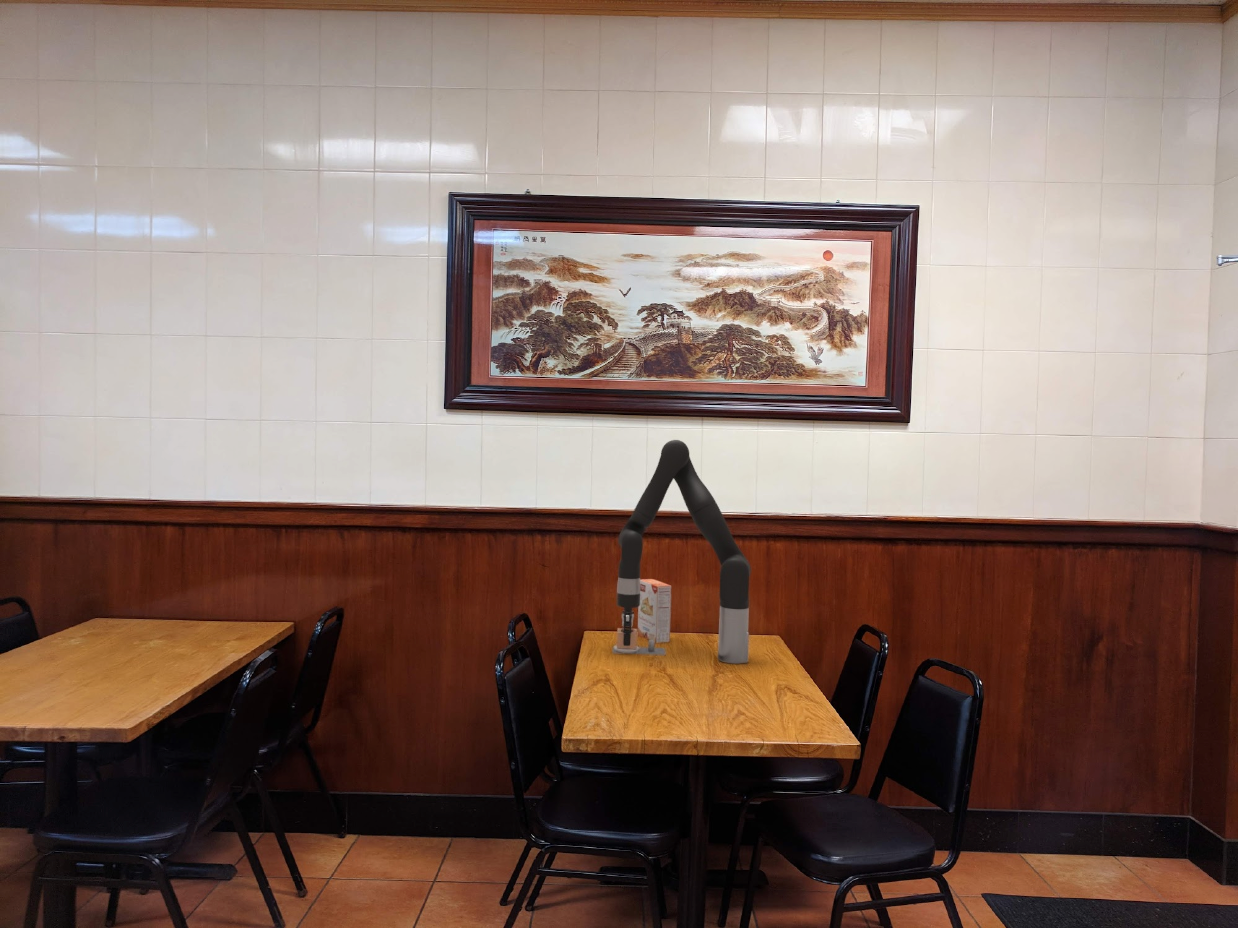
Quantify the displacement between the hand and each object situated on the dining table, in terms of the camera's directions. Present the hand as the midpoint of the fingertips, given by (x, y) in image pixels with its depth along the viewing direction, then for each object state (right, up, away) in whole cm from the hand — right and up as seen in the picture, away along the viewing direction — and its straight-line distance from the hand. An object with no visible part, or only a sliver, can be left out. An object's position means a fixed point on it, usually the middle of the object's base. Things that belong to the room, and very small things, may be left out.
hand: (626, 642), depth 264 cm
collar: (0, -1, 0) cm, 1 cm away
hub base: (+4, -4, 0) cm, 6 cm away
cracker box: (+9, -4, +19) cm, 21 cm away
